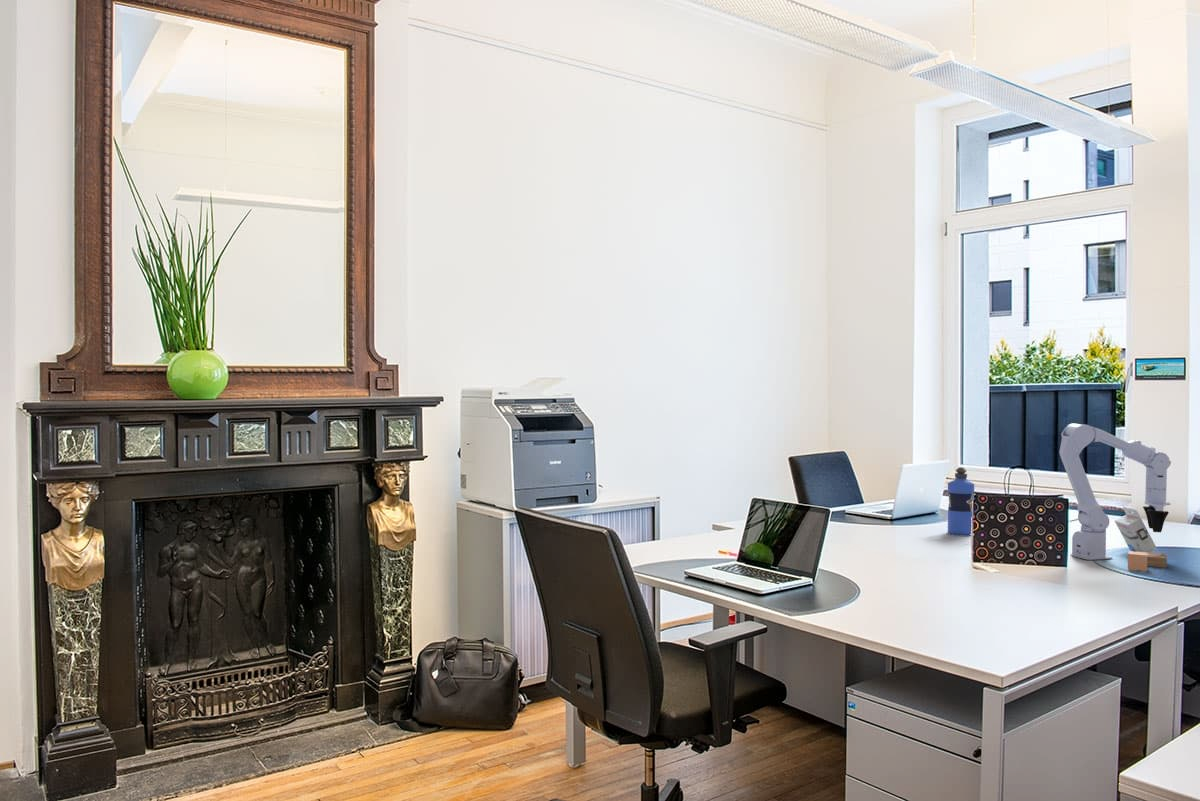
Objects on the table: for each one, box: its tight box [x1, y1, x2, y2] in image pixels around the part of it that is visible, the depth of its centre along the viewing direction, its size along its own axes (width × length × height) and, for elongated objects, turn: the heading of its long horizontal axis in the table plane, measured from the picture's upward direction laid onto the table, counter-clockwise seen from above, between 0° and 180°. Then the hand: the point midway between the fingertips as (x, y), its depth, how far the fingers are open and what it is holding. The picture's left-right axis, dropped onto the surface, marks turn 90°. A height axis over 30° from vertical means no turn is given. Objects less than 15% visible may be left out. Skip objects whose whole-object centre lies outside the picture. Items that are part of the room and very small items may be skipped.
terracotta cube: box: [1127, 550, 1148, 572], centre depth 271 cm, size 5×5×5 cm
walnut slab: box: [1137, 551, 1168, 569], centre depth 278 cm, size 8×8×3 cm
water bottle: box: [947, 467, 975, 537], centre depth 333 cm, size 9×9×25 cm
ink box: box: [1114, 506, 1158, 553], centre depth 296 cm, size 9×5×15 cm, turn 179°
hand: (1155, 530), depth 286 cm, fingers open, 7 cm apart
